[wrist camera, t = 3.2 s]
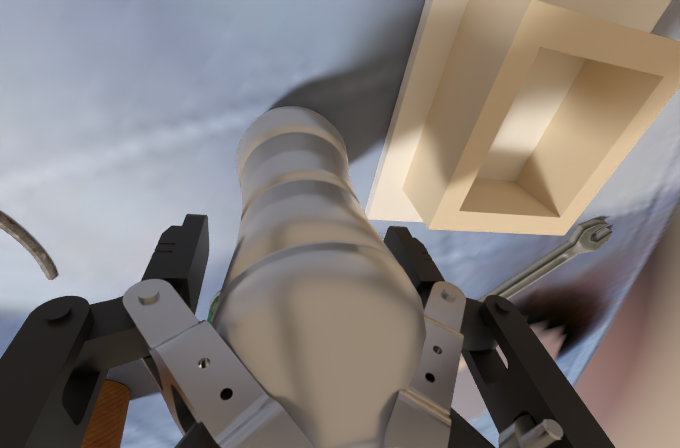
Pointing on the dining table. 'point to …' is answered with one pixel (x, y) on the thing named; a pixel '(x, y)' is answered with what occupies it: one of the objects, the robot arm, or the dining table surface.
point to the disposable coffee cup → (108, 417)
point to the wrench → (556, 257)
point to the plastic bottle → (316, 286)
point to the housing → (520, 111)
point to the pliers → (28, 246)
